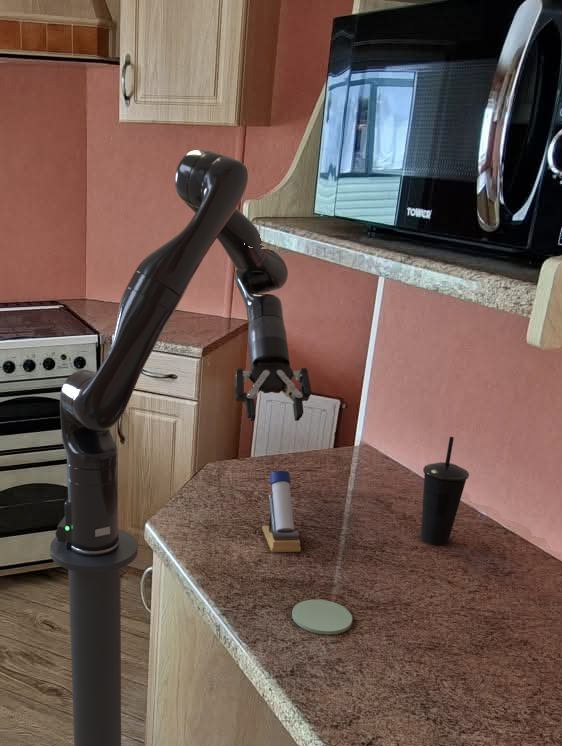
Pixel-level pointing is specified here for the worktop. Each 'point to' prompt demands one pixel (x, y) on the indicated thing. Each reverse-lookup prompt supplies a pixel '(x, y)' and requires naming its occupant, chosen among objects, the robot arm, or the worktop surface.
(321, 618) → the mat
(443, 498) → the drinking cup
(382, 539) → the worktop surface
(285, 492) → the vial
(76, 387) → the robot arm
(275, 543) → the rack
